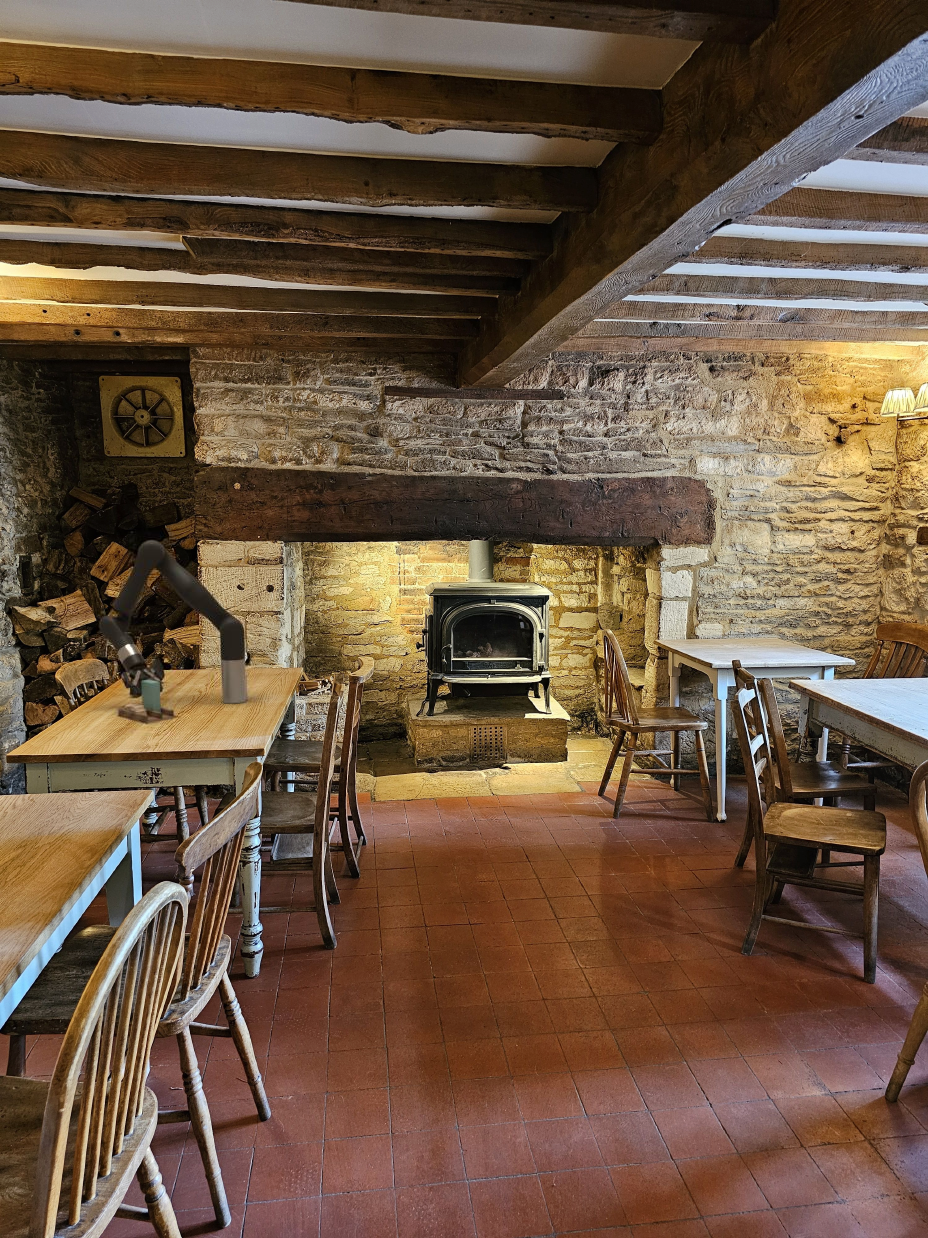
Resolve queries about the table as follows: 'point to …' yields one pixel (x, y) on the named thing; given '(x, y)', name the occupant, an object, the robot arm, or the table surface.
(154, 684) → the teal board
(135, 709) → the offcut stack
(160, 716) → the walnut rack
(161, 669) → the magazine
